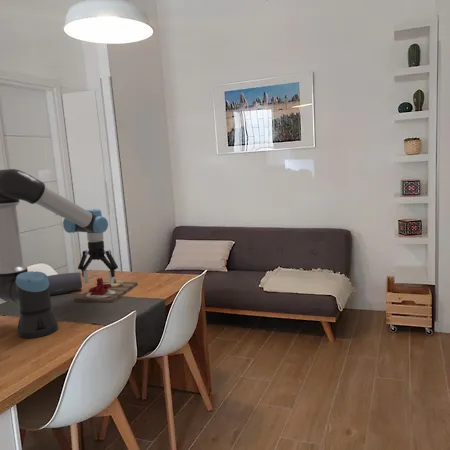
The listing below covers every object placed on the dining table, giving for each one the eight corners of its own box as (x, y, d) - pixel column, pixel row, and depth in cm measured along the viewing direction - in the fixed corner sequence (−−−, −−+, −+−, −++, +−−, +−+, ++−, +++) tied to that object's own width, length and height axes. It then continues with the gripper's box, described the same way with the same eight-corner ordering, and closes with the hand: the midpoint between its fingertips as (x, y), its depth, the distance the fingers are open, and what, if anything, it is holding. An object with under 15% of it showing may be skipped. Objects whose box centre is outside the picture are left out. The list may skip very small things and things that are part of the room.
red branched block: (106, 288, 230) (104, 273, 229) (115, 293, 220) (113, 277, 219) (85, 293, 224) (83, 277, 223) (93, 298, 214) (91, 281, 213)
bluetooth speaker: (81, 287, 242) (79, 269, 241) (82, 292, 234) (80, 273, 232) (36, 294, 234) (33, 275, 233) (35, 299, 226) (33, 279, 224)
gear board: (112, 302, 212) (111, 292, 212) (74, 301, 217) (73, 291, 216) (137, 284, 241) (137, 275, 241) (103, 284, 246) (102, 275, 245)
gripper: (122, 239, 219) (125, 281, 222) (76, 239, 225) (80, 281, 227) (115, 241, 212) (119, 285, 215) (68, 242, 217) (72, 285, 220)
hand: (99, 283), depth 221 cm, fingers open, 13 cm apart
